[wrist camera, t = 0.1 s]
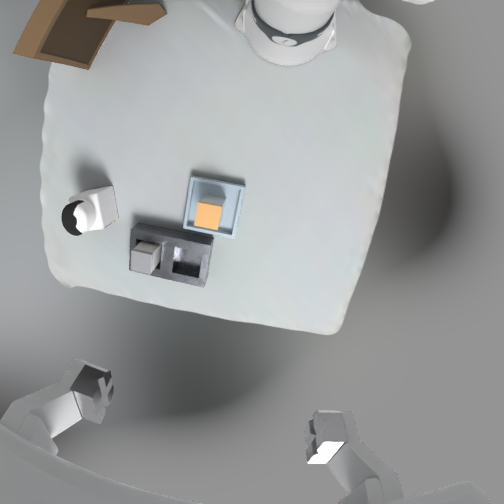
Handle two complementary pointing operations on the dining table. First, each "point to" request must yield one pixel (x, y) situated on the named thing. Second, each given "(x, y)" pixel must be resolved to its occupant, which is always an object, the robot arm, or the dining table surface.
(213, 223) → the plug
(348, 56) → the dining table surface
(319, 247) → the dining table surface
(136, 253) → the grey rectangular block
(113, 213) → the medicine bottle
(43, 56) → the photo frame
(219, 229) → the tray
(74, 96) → the dining table surface
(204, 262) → the square-holed metal block
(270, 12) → the robot arm
